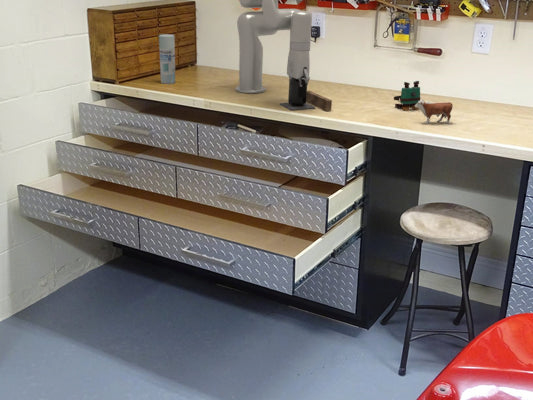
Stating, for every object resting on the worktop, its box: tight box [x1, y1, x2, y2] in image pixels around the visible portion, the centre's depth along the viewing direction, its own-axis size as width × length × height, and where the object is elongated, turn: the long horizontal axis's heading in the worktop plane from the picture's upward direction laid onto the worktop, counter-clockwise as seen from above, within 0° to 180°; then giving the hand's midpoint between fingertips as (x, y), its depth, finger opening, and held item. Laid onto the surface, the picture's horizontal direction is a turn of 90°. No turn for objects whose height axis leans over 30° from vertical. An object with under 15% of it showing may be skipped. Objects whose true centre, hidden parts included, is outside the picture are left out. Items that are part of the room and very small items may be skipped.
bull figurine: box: [415, 98, 453, 125], centre depth 221 cm, size 4×13×8 cm, turn 95°
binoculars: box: [393, 80, 421, 111], centre depth 241 cm, size 9×11×10 cm
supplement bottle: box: [287, 77, 307, 105], centre depth 237 cm, size 7×7×12 cm
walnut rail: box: [306, 90, 333, 112], centre depth 241 cm, size 18×2×4 cm, turn 24°
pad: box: [279, 102, 316, 111], centre depth 239 cm, size 10×10×1 cm
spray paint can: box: [158, 33, 176, 85], centre depth 272 cm, size 6×6×20 cm
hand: (297, 94), depth 238 cm, fingers closed on supplement bottle, 6 cm apart
